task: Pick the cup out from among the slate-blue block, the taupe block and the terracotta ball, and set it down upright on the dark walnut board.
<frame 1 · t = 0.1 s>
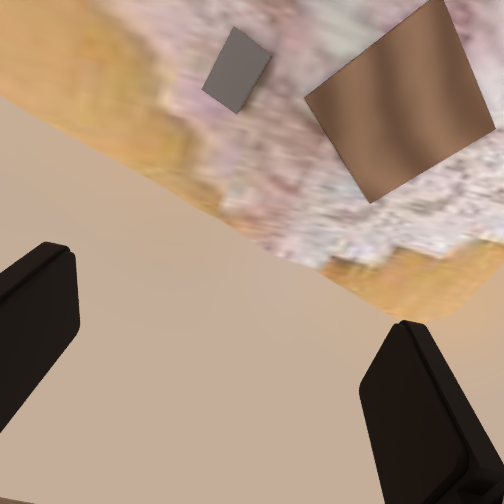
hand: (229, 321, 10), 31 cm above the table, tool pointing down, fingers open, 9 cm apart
taupe block: (239, 72, 34), on the table
walnut board: (396, 112, 35), on the table
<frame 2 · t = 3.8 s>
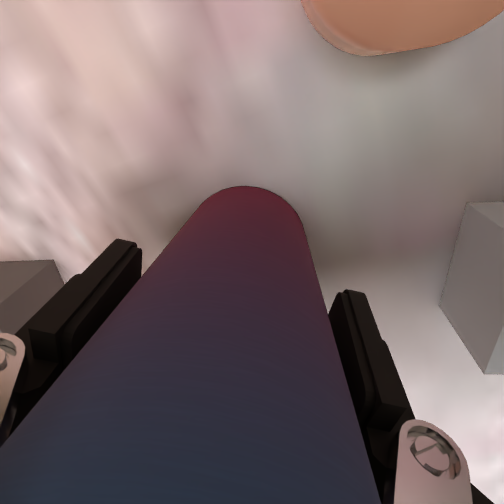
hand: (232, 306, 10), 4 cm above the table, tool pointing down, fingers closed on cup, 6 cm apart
cup: (246, 239, 14), on the table, touching gripper
taupe block: (15, 293, 17), on the table
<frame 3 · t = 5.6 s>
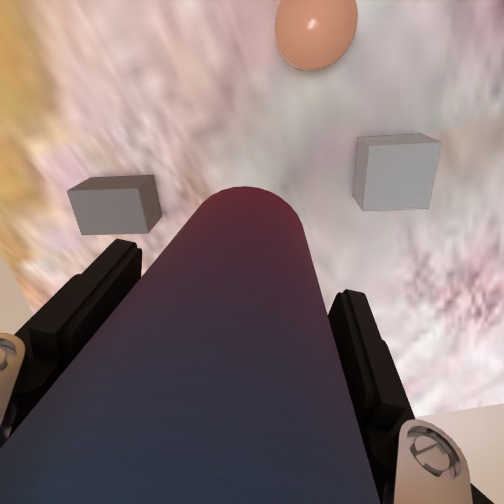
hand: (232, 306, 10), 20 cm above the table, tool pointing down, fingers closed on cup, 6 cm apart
terracotta ball: (309, 30, 24), on the table
slate block: (384, 165, 28), on the table
cup: (246, 240, 14), point 16 cm above the table, touching gripper
taupe block: (127, 196, 31), on the table
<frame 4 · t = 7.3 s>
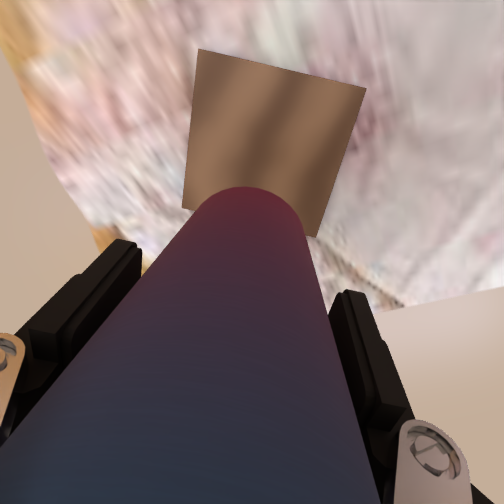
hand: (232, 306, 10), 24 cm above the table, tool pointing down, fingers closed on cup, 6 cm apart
cup: (246, 240, 14), point 19 cm above the table, touching gripper
walnut board: (264, 151, 31), on the table
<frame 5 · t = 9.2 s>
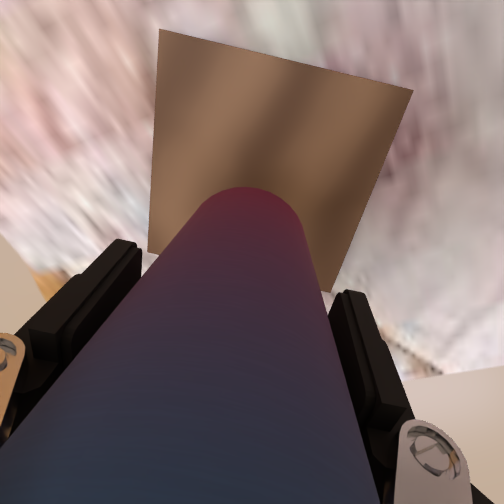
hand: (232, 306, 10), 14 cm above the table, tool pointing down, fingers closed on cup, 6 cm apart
cup: (246, 240, 14), point 9 cm above the table, touching gripper
walnut board: (260, 178, 22), on the table
when the fingers open (7 cm above the table, at t = 11.0 s): cup drops 1 cm, resting on walnut board.
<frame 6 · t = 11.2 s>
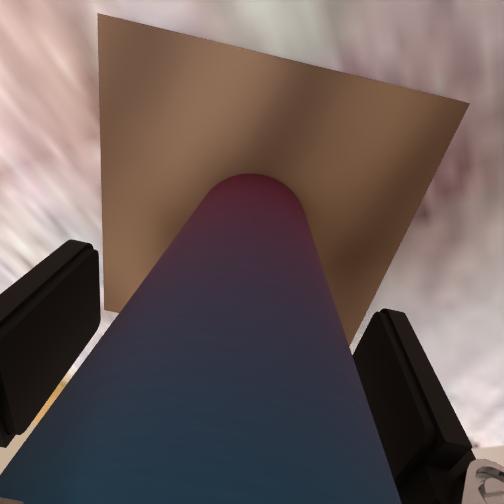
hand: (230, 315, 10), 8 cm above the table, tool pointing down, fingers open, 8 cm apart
cup: (251, 224, 15), point 1 cm above the table, touching walnut board
walnut board: (251, 218, 16), on the table
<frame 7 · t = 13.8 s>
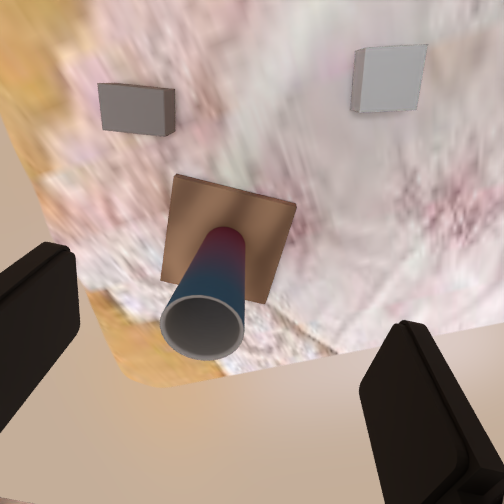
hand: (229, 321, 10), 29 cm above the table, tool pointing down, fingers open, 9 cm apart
slate block: (378, 80, 32), on the table
cup: (224, 244, 40), point 1 cm above the table, touching walnut board
taupe block: (146, 107, 34), on the table
walnut board: (224, 242, 41), on the table
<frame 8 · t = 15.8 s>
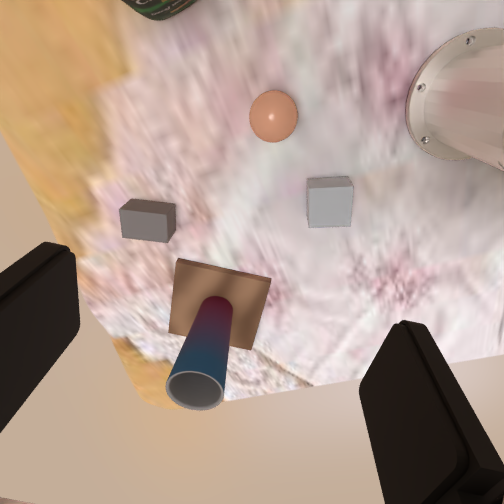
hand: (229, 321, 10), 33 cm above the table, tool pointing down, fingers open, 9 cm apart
terracotta ball: (272, 114, 38), on the table
slate block: (326, 196, 42), on the table
cup: (217, 308, 51), point 1 cm above the table, touching walnut board
taupe block: (154, 214, 45), on the table
walnut board: (217, 304, 52), on the table
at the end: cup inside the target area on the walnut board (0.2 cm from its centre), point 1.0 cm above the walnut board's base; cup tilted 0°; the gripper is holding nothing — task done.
